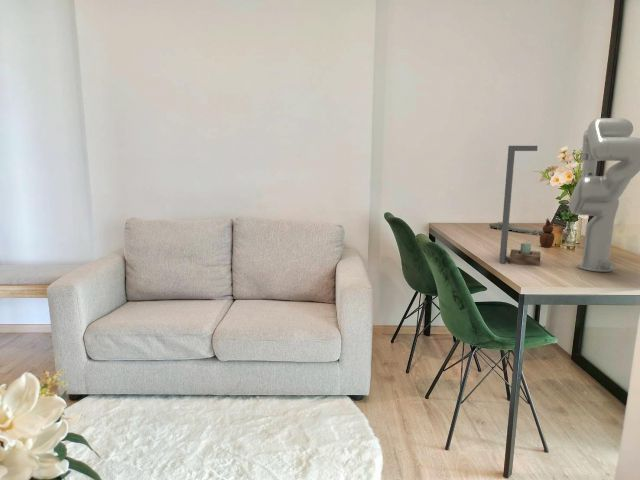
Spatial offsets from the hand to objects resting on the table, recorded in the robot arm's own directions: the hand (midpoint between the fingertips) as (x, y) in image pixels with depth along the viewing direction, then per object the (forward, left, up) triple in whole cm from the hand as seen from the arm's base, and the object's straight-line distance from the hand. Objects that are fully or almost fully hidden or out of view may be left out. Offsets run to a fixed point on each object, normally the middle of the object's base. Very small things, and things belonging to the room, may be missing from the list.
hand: (586, 196), depth 217 cm
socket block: (-2, +32, -28) cm, 43 cm away
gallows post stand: (+1, +35, -28) cm, 45 cm away
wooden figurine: (+25, -3, -28) cm, 38 cm away
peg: (-2, +32, -28) cm, 43 cm away
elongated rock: (+72, -21, -29) cm, 81 cm away
